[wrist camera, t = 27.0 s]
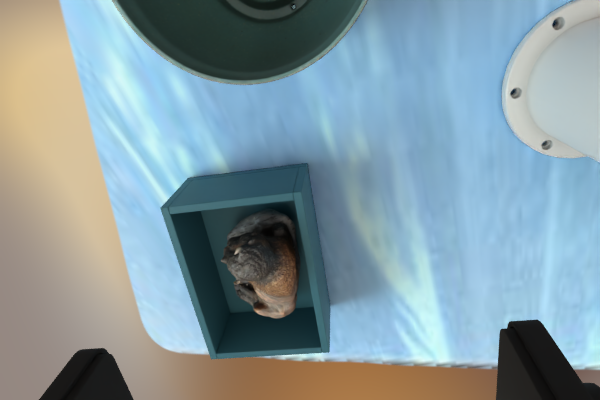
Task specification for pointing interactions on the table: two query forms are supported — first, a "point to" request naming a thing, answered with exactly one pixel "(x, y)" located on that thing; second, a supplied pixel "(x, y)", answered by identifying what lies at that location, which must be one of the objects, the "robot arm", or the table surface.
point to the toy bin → (218, 279)
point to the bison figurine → (265, 262)
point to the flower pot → (241, 34)
